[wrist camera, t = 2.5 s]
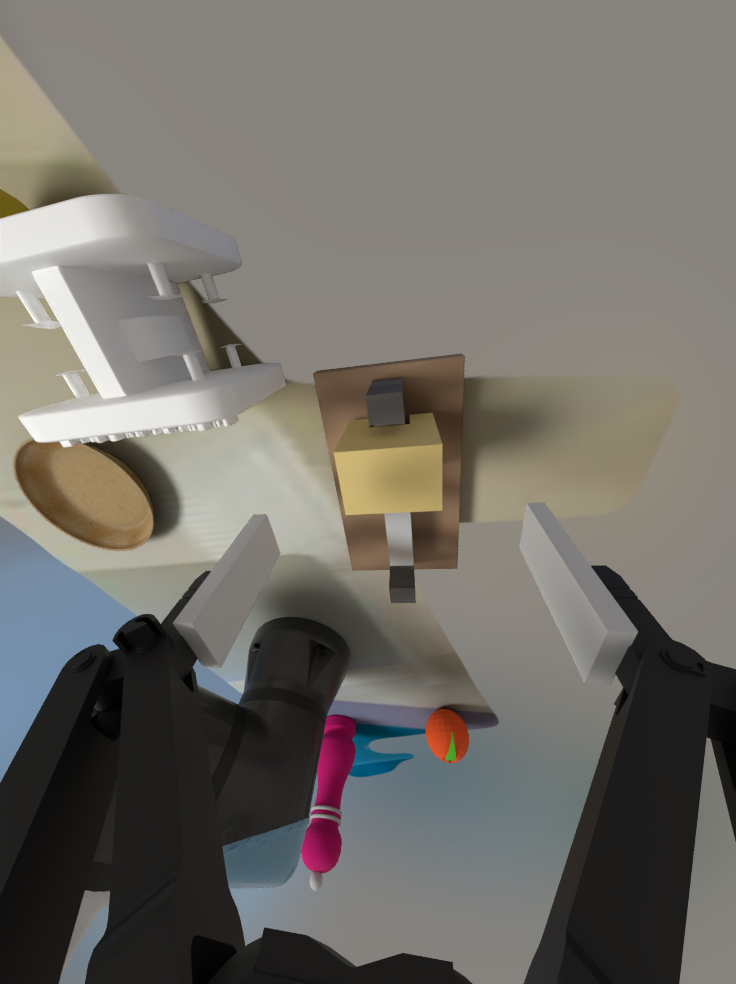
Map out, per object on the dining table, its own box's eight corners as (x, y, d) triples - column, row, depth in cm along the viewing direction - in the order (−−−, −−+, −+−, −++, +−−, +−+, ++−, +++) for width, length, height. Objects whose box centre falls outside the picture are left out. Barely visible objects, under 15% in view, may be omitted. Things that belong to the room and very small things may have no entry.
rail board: (455, 559, 35) (466, 609, 29) (354, 561, 37) (344, 609, 31) (461, 353, 24) (481, 366, 18) (317, 370, 26) (292, 387, 20)
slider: (433, 467, 27) (442, 510, 21) (357, 472, 28) (345, 515, 22) (432, 412, 25) (442, 444, 19) (349, 420, 26) (333, 452, 20)
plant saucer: (189, 492, 34) (174, 505, 32) (139, 555, 40) (124, 569, 38) (58, 397, 30) (30, 404, 28) (24, 484, 36) (-1, 495, 34)
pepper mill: (343, 734, 61) (320, 897, 44) (314, 720, 59) (279, 885, 42) (365, 724, 58) (350, 895, 41) (336, 709, 56) (308, 882, 39)
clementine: (426, 695, 51) (430, 747, 45) (468, 699, 50) (478, 753, 44) (422, 718, 55) (425, 768, 49) (461, 722, 54) (469, 773, 48)
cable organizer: (258, 237, 22) (135, 171, 12) (296, 388, 27) (233, 431, 17) (84, 276, 24) (-141, 248, 14) (150, 408, 29) (19, 456, 19)
